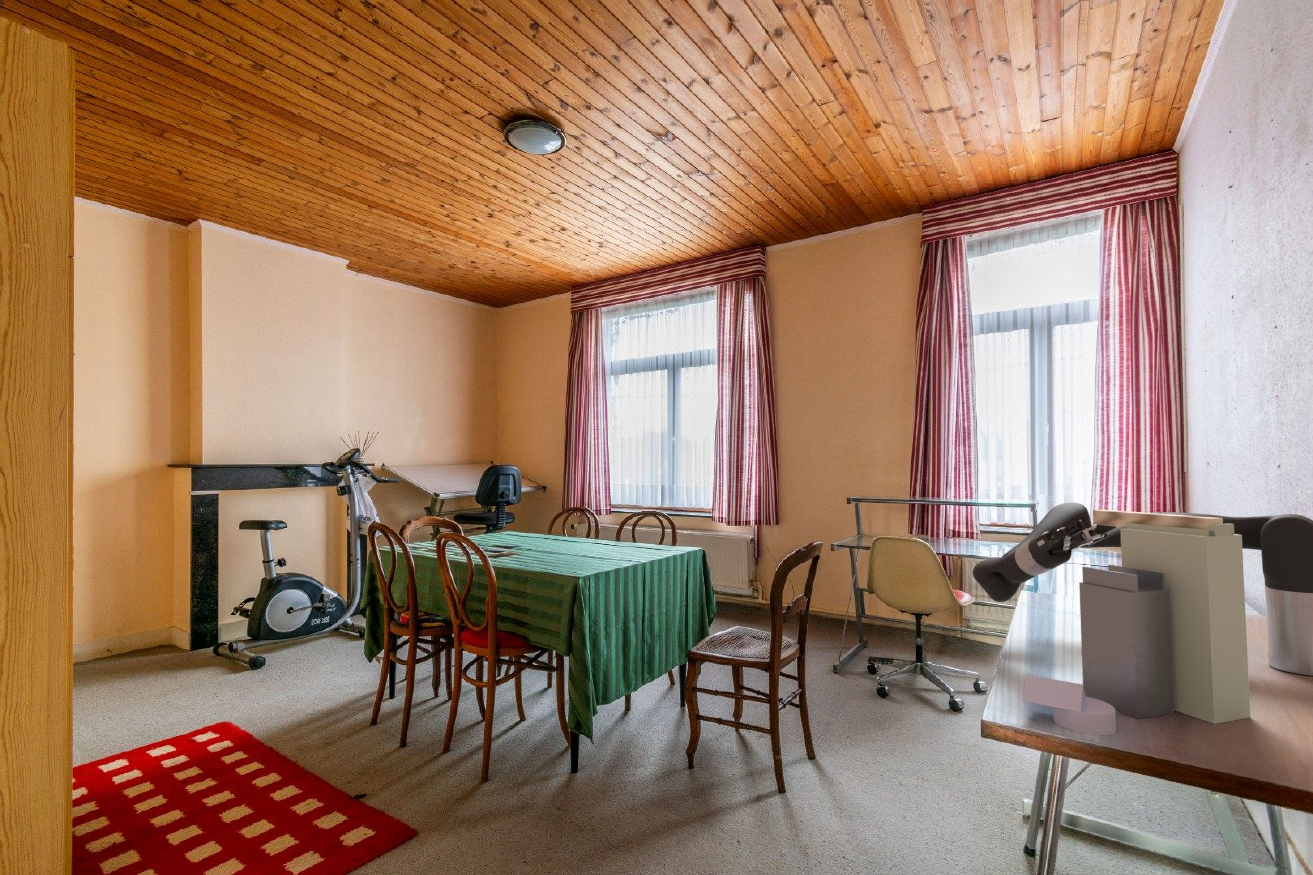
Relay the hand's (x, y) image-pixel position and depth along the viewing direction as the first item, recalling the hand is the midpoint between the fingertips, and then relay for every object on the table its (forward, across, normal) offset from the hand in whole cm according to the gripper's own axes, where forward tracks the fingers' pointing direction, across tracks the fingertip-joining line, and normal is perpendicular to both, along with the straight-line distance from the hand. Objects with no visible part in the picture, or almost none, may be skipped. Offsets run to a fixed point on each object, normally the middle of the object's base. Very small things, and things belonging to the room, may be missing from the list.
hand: (1098, 523), depth 132 cm
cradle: (-6, +10, -34) cm, 36 cm away
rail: (+9, -1, -6) cm, 11 cm away
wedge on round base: (-5, +26, -35) cm, 44 cm away
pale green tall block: (-4, -1, -35) cm, 36 cm away
